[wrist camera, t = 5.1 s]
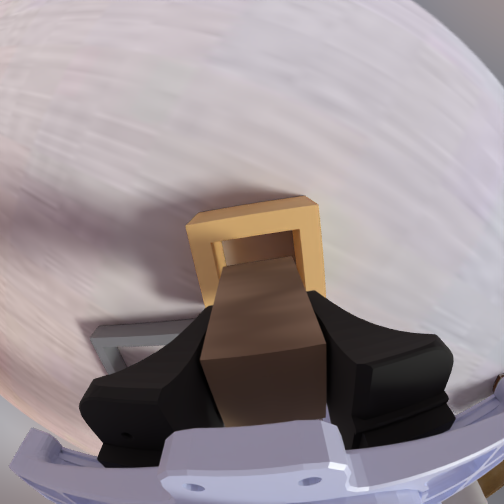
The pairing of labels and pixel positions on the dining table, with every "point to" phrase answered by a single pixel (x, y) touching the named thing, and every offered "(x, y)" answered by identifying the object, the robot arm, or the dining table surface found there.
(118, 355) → the grey square frame
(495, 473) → the plant pot
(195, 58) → the dining table surface
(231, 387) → the rod
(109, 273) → the dining table surface
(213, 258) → the socket
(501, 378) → the food container
